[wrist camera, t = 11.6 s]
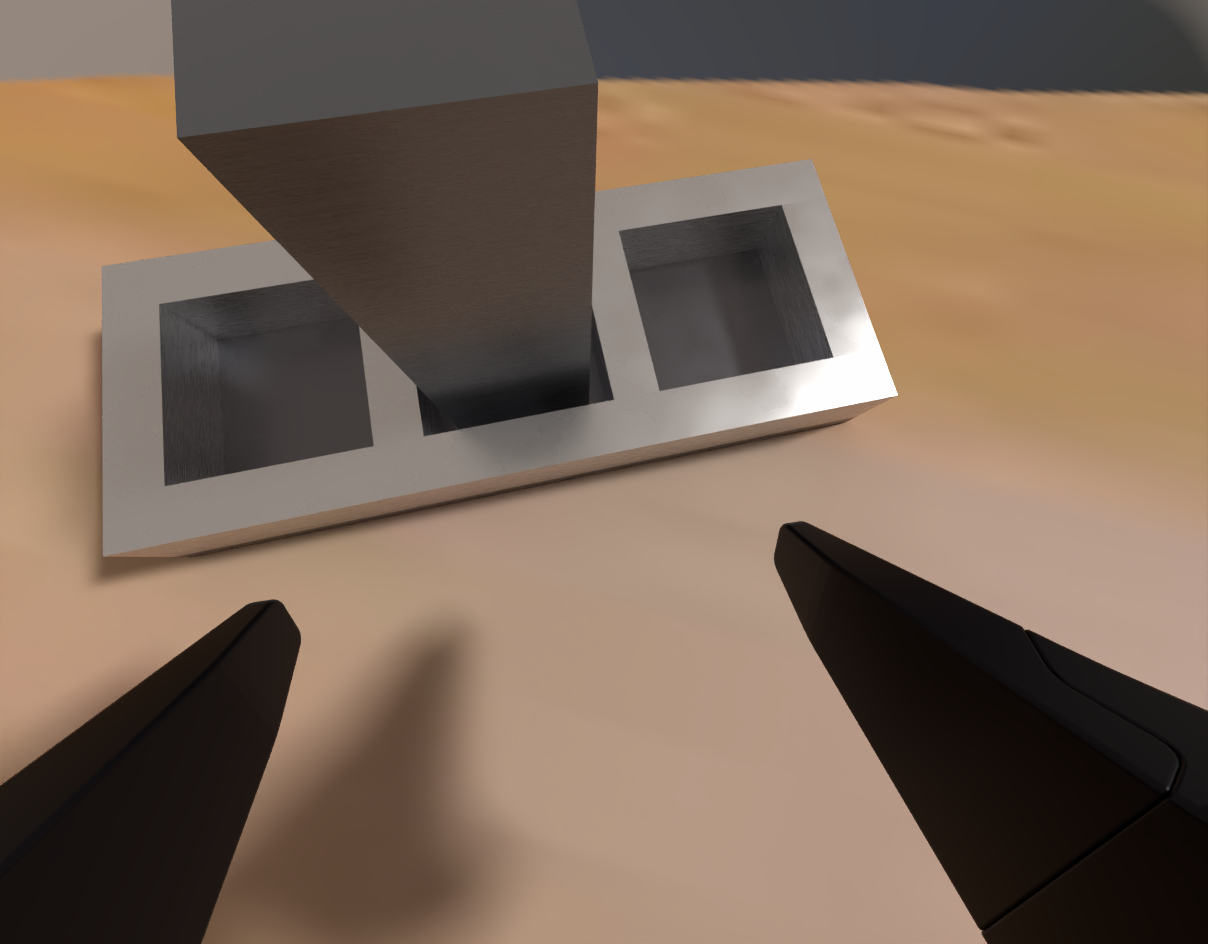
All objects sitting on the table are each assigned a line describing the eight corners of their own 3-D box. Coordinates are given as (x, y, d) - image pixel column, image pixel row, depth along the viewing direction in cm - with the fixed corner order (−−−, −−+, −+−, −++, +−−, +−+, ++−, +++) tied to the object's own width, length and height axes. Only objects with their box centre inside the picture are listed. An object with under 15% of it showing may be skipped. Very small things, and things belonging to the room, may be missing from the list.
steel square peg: (588, 408, 17) (597, 83, 5) (461, 432, 17) (176, 137, 5) (563, 296, 18) (525, -188, 6) (442, 316, 18) (164, -162, 6)
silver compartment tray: (778, 217, 20) (811, 158, 17) (846, 421, 18) (897, 395, 15) (180, 314, 18) (102, 266, 15) (190, 557, 16) (102, 556, 13)
